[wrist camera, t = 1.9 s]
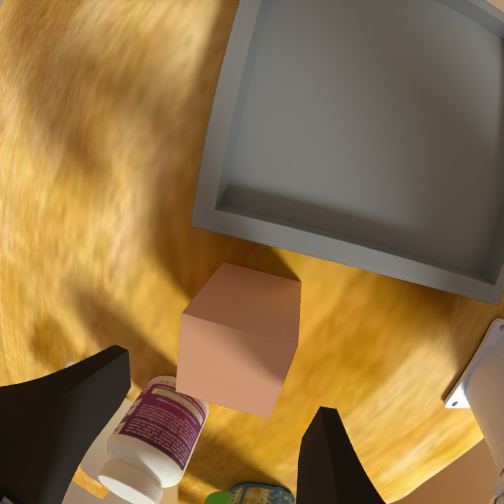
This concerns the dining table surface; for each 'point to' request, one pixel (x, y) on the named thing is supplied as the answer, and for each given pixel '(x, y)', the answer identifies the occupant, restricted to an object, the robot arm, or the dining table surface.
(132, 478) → the pill bottle
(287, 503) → the snack cup
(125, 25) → the dining table surface
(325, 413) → the robot arm
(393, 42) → the grey bin
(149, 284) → the dining table surface
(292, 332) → the terracotta block
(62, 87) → the dining table surface
